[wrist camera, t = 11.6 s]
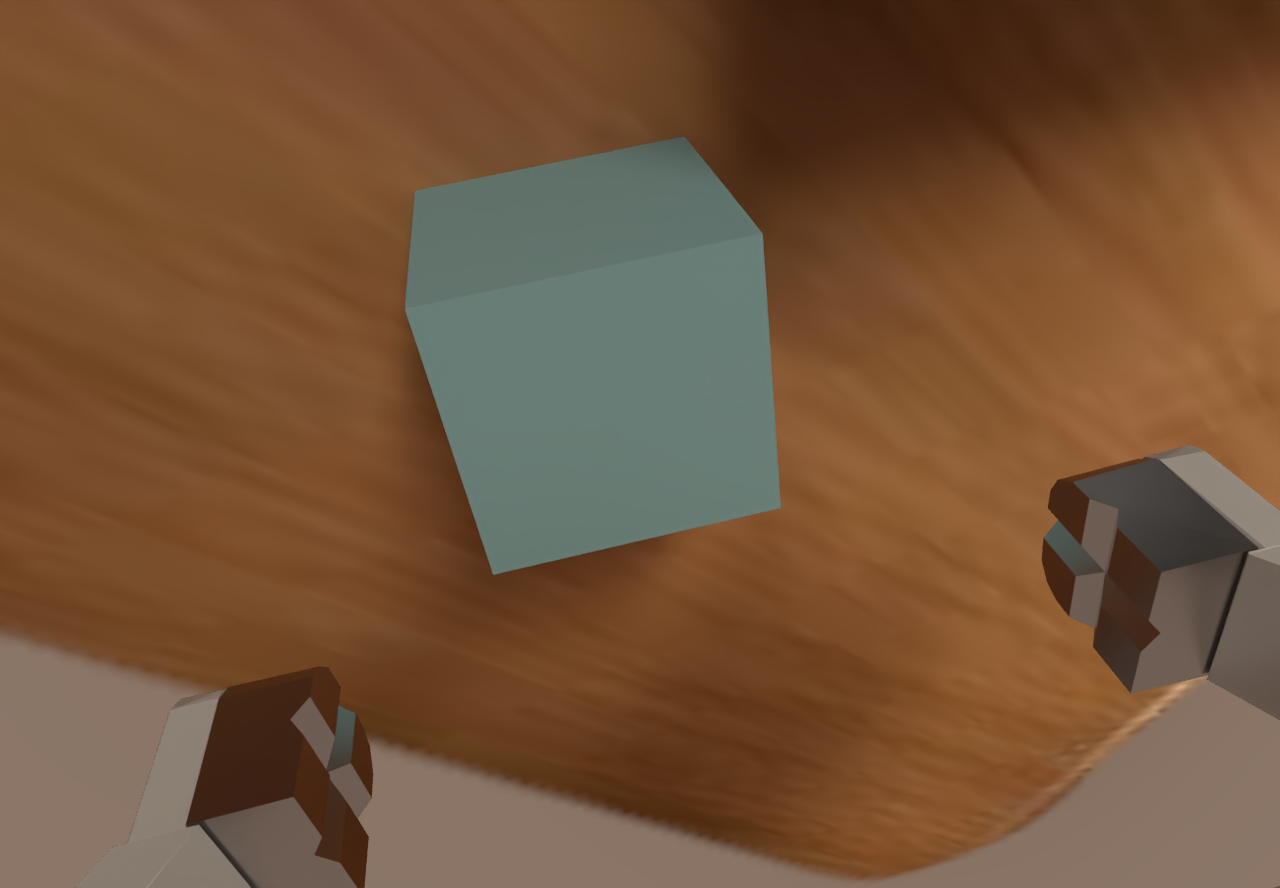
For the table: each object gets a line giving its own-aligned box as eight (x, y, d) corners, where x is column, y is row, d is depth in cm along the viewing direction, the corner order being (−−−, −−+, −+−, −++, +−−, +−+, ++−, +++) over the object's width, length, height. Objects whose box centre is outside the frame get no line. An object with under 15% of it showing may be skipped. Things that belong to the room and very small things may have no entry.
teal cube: (483, 416, 19) (493, 574, 15) (414, 189, 16) (404, 308, 12) (709, 366, 19) (780, 508, 15) (683, 135, 16) (762, 233, 12)
